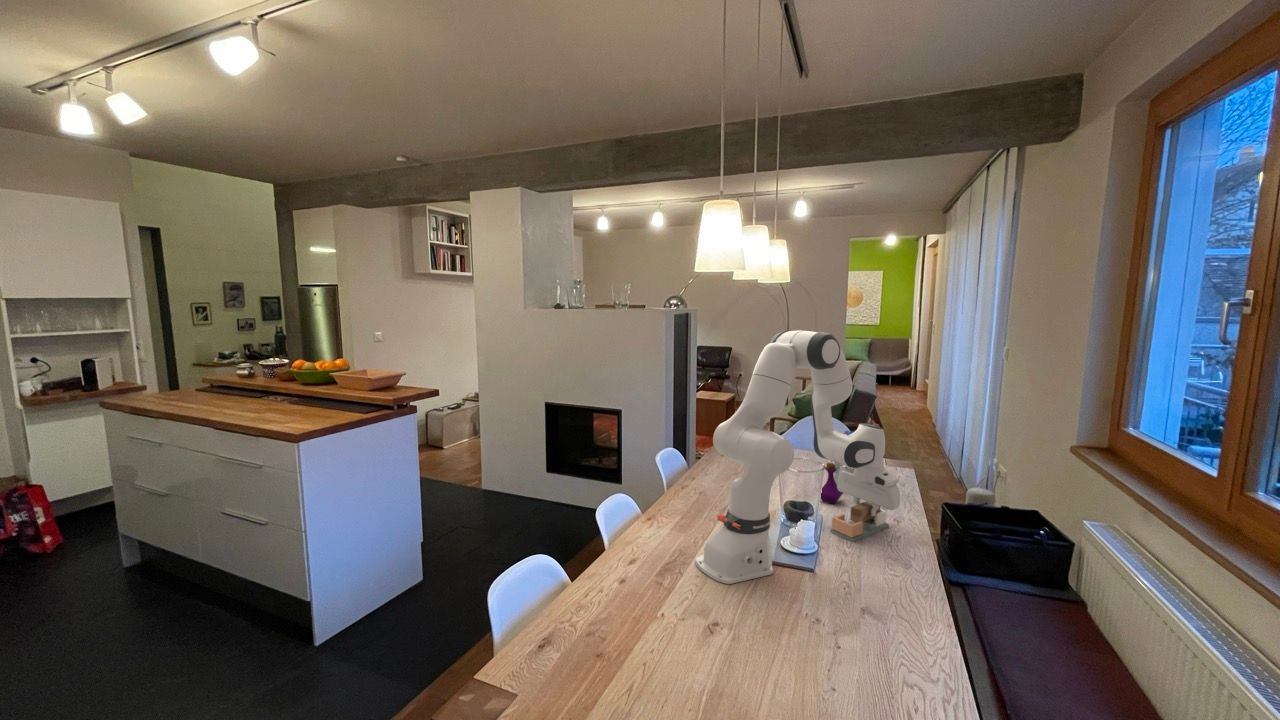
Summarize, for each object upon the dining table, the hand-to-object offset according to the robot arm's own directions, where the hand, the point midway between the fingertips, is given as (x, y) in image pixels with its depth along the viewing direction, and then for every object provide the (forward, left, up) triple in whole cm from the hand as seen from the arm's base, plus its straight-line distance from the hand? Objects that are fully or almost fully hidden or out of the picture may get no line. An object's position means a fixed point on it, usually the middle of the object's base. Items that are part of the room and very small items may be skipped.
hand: (865, 512), depth 162 cm
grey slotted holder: (-3, 0, -5) cm, 6 cm away
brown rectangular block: (0, 0, -2) cm, 2 cm away
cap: (-10, 0, -4) cm, 11 cm away
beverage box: (+27, +25, -5) cm, 37 cm away
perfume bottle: (+9, +20, -5) cm, 23 cm away
